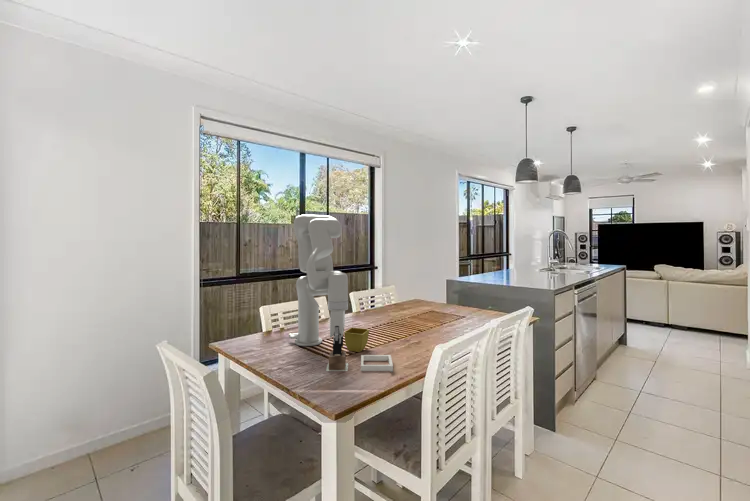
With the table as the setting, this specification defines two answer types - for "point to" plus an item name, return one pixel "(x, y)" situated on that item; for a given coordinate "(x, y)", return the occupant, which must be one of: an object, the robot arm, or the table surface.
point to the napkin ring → (337, 361)
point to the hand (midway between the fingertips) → (338, 350)
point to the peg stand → (337, 370)
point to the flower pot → (356, 339)
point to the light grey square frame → (376, 367)
